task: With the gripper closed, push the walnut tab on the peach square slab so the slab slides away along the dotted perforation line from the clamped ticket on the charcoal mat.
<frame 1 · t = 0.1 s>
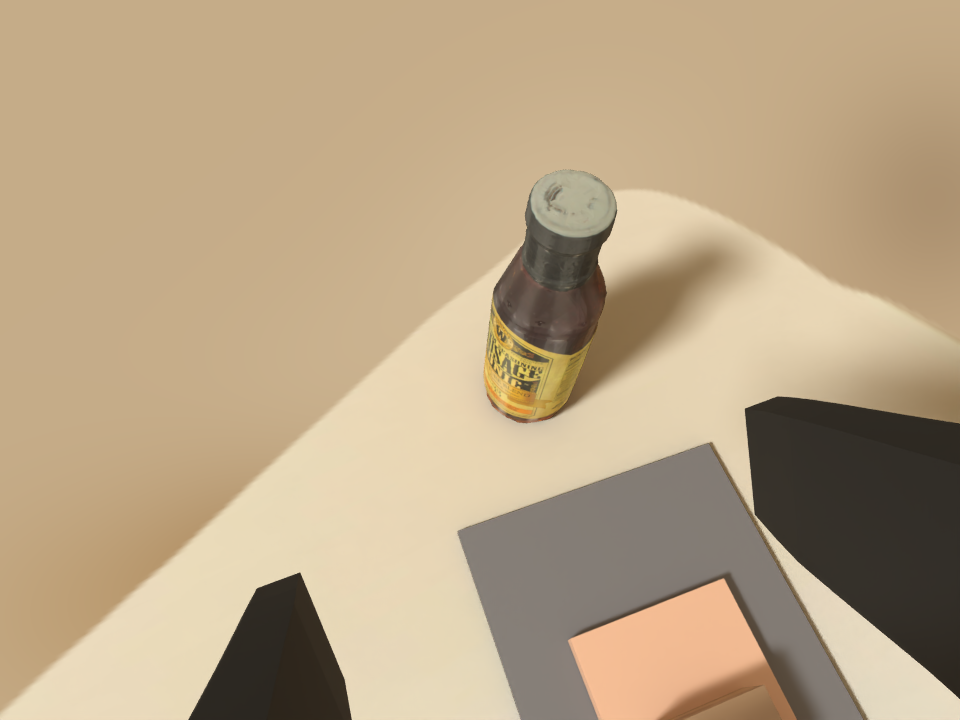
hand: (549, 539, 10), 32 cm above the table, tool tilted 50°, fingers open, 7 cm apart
sauce bottle: (527, 391, 47), on the table
peach square slab: (695, 697, 35), point 3 cm above the table, slide at 0.0 cm
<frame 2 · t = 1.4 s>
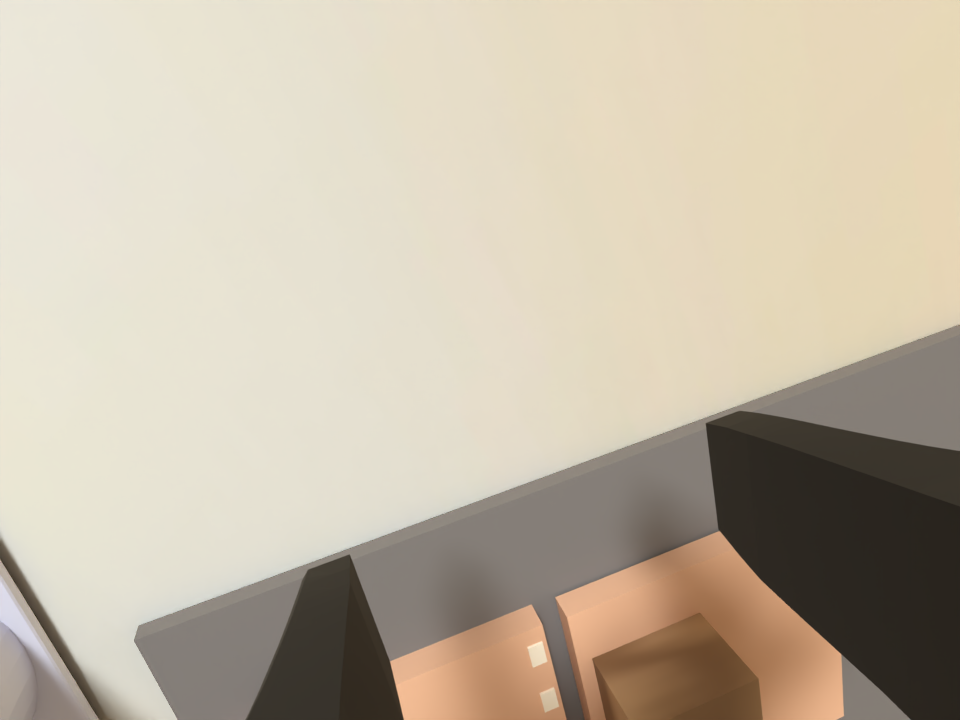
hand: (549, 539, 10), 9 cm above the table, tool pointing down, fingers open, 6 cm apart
mat: (651, 657, 24), on the table
peach square slab: (739, 693, 22), point 3 cm above the table, slide at 0.0 cm
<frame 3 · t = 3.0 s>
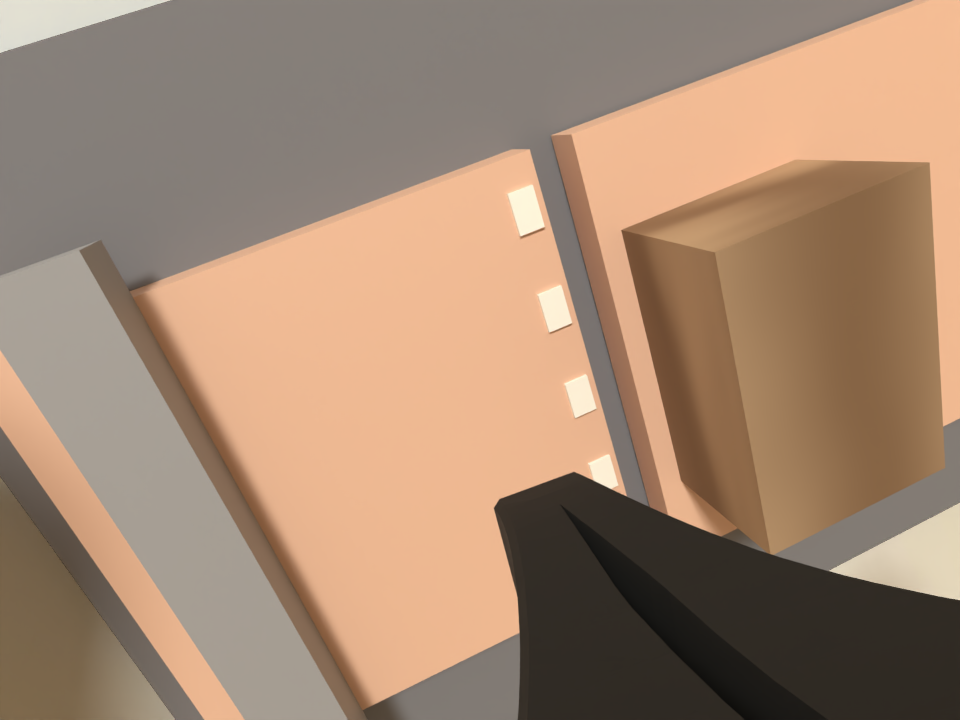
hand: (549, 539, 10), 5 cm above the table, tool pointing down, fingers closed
mat: (715, 300, 16), on the table
peach square slab: (868, 296, 13), point 3 cm above the table, slide at 0.0 cm
ticket: (363, 452, 14), resting on mat
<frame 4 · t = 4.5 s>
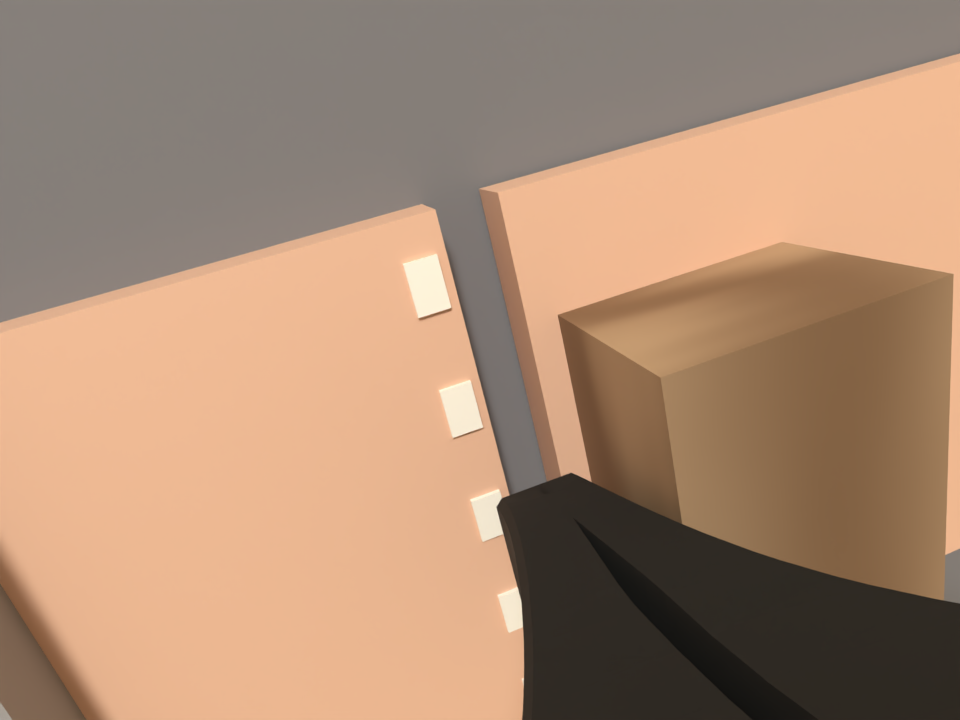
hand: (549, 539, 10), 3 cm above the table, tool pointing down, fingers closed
mat: (672, 396, 13), on the table
peach square slab: (860, 415, 11), point 3 cm above the table, slide at 0.1 cm, touching gripper
ticket: (219, 559, 11), resting on mat
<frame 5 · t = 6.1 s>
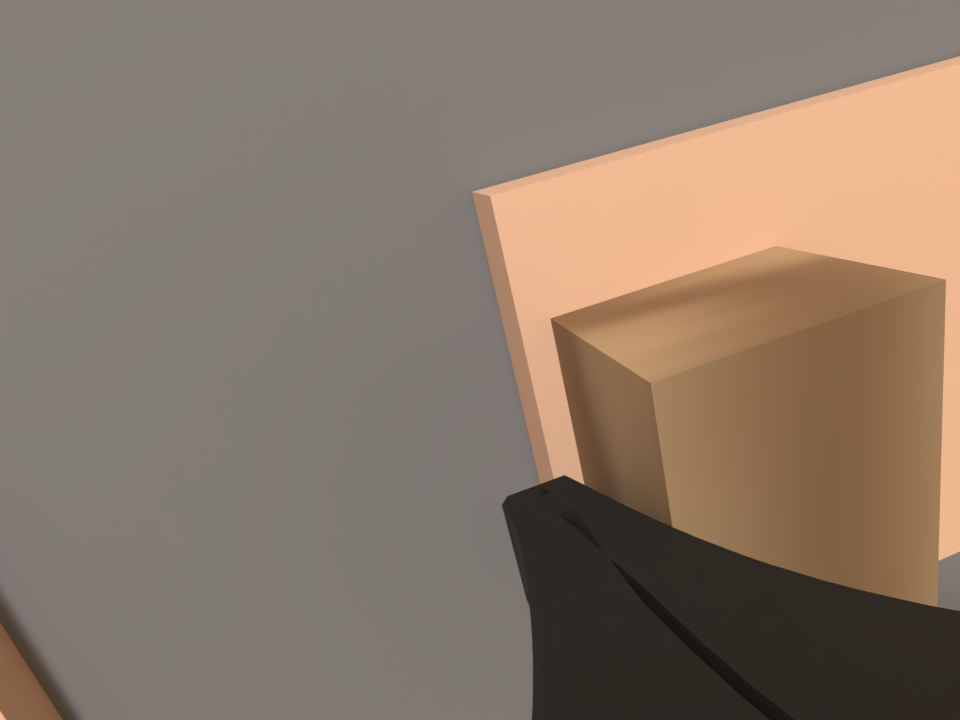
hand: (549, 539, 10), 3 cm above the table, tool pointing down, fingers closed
mat: (270, 541, 12), on the table
peach square slab: (854, 420, 11), point 3 cm above the table, slide at 8.1 cm, touching gripper
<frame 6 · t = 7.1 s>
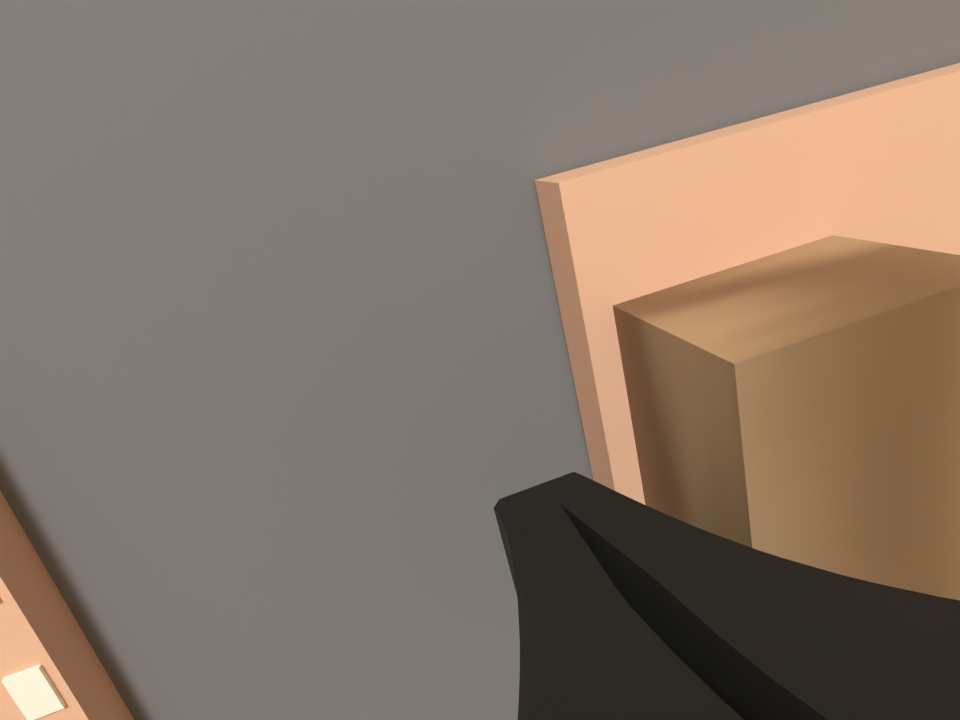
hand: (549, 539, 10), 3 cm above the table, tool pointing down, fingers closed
mat: (326, 527, 12), on the table
peach square slab: (909, 408, 11), point 3 cm above the table, slide at 8.1 cm
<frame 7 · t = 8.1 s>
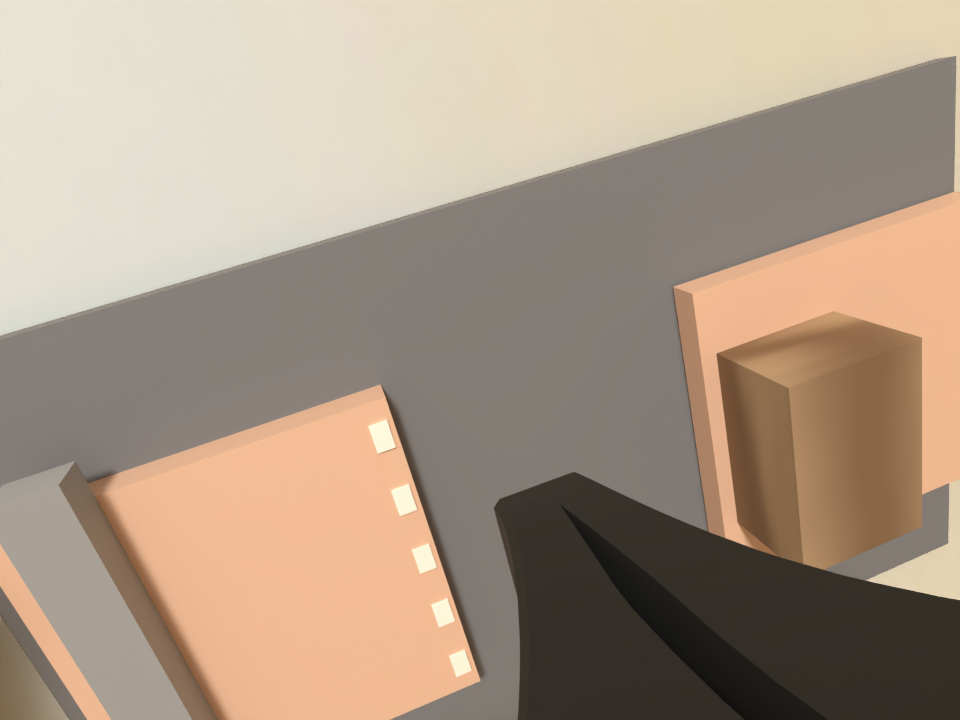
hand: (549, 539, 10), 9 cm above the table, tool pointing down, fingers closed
mat: (546, 477, 21), on the table
peach square slab: (877, 405, 20), point 3 cm above the table, slide at 8.1 cm
ticket: (265, 584, 19), resting on mat
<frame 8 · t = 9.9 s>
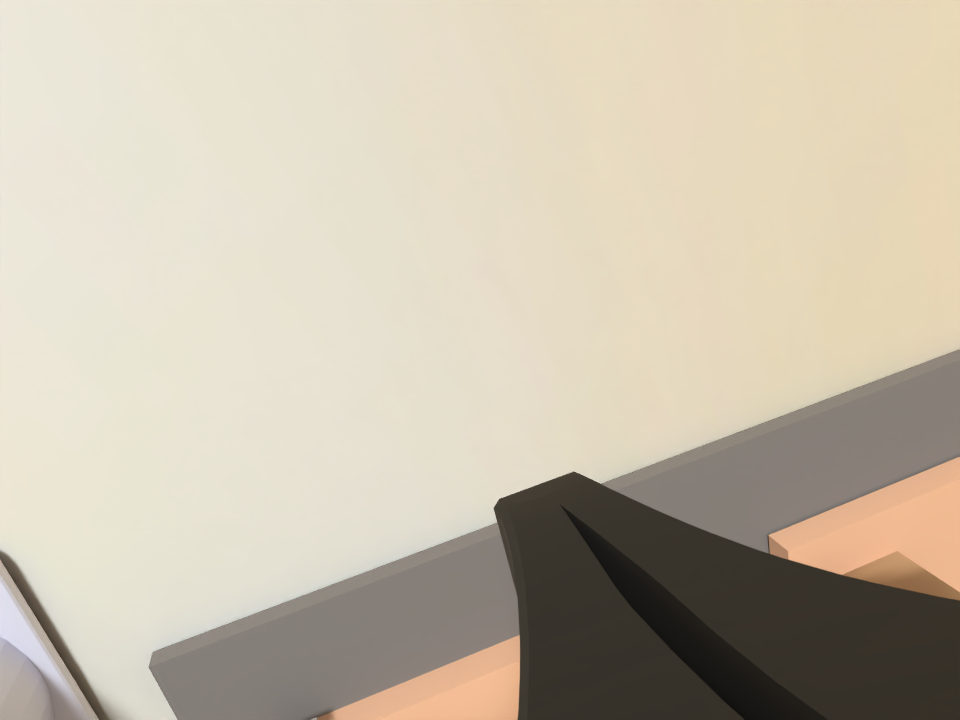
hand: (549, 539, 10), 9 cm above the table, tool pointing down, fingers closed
mat: (655, 677, 25), on the table
peach square slab: (931, 626, 24), point 3 cm above the table, slide at 8.1 cm
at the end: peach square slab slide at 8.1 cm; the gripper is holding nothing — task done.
